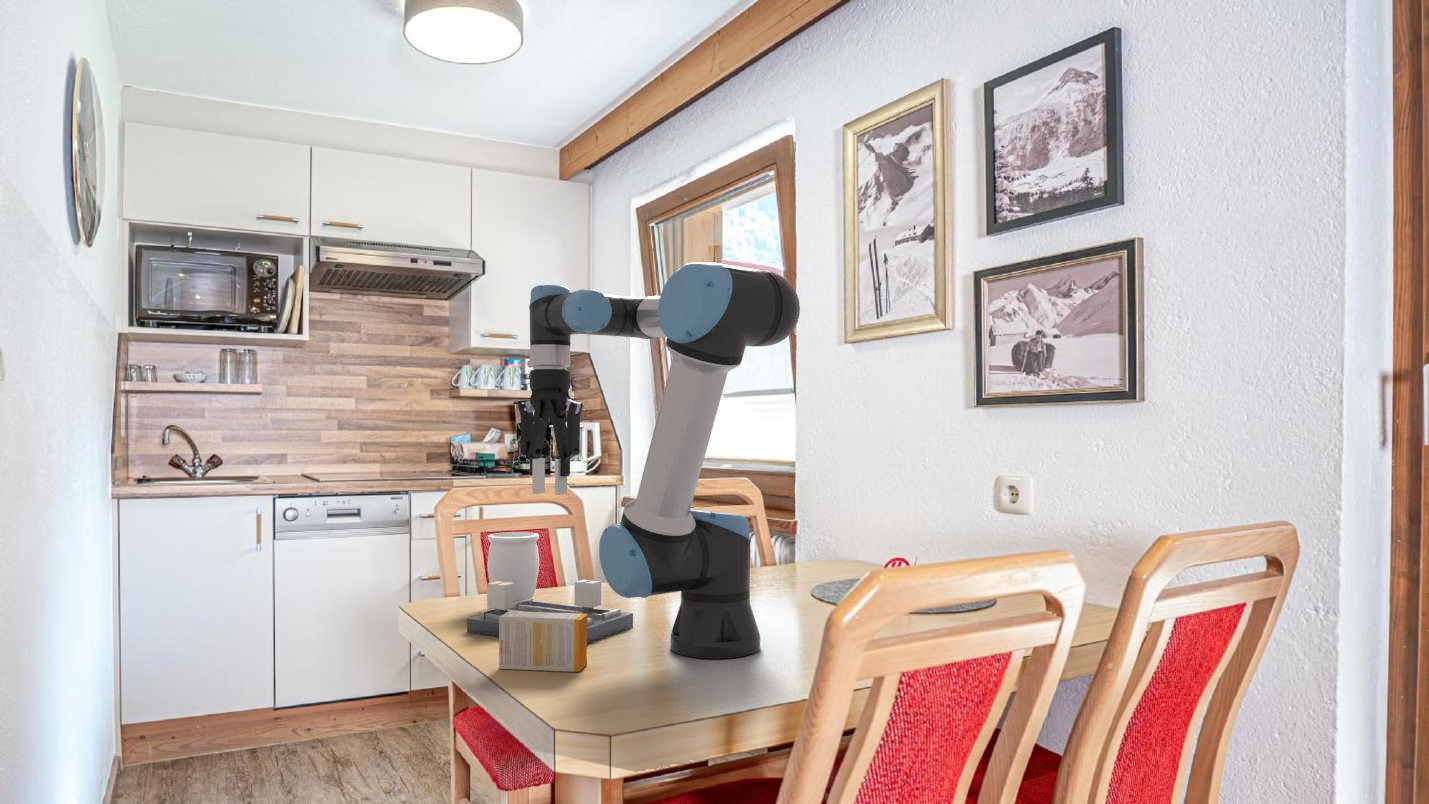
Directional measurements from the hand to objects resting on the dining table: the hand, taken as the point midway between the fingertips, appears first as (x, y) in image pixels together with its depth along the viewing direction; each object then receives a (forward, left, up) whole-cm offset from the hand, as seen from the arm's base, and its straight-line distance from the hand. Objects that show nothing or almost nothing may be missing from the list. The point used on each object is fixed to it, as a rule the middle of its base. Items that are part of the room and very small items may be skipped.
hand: (549, 493), depth 174 cm
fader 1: (+6, +7, -22) cm, 24 cm away
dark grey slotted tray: (-2, +2, -25) cm, 25 cm away
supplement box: (-23, +21, -21) cm, 38 cm away
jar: (+17, -10, -25) cm, 32 cm away
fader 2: (-7, -3, -22) cm, 23 cm away
